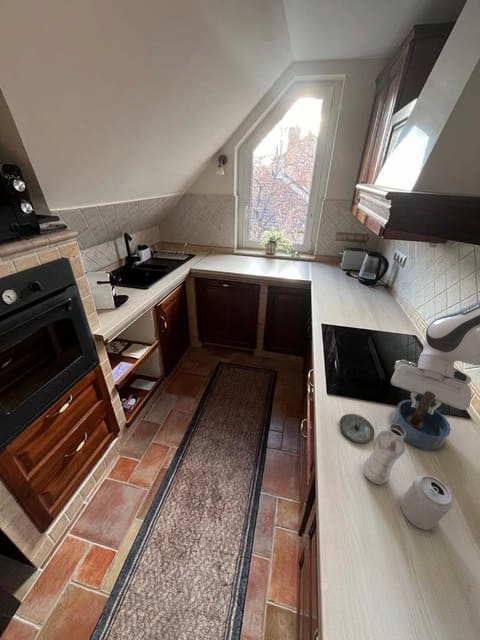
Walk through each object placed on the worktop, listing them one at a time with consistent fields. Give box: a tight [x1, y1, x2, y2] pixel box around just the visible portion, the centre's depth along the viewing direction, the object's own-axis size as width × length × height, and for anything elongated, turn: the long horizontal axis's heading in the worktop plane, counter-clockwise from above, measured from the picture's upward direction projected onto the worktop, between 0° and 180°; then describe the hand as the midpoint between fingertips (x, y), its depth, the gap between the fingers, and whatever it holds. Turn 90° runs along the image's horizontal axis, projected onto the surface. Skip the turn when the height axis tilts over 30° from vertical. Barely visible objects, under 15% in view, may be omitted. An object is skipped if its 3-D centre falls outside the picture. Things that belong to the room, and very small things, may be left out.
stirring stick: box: [405, 391, 435, 431], centre depth 79 cm, size 5×5×15 cm
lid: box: [339, 413, 375, 444], centre depth 83 cm, size 11×10×5 cm
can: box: [399, 474, 453, 531], centre depth 61 cm, size 8×8×12 cm
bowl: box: [391, 399, 452, 451], centre depth 83 cm, size 15×15×6 cm
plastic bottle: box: [362, 423, 406, 485], centre depth 67 cm, size 6×7×20 cm
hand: (421, 410), depth 78 cm, fingers closed on stirring stick, 2 cm apart
